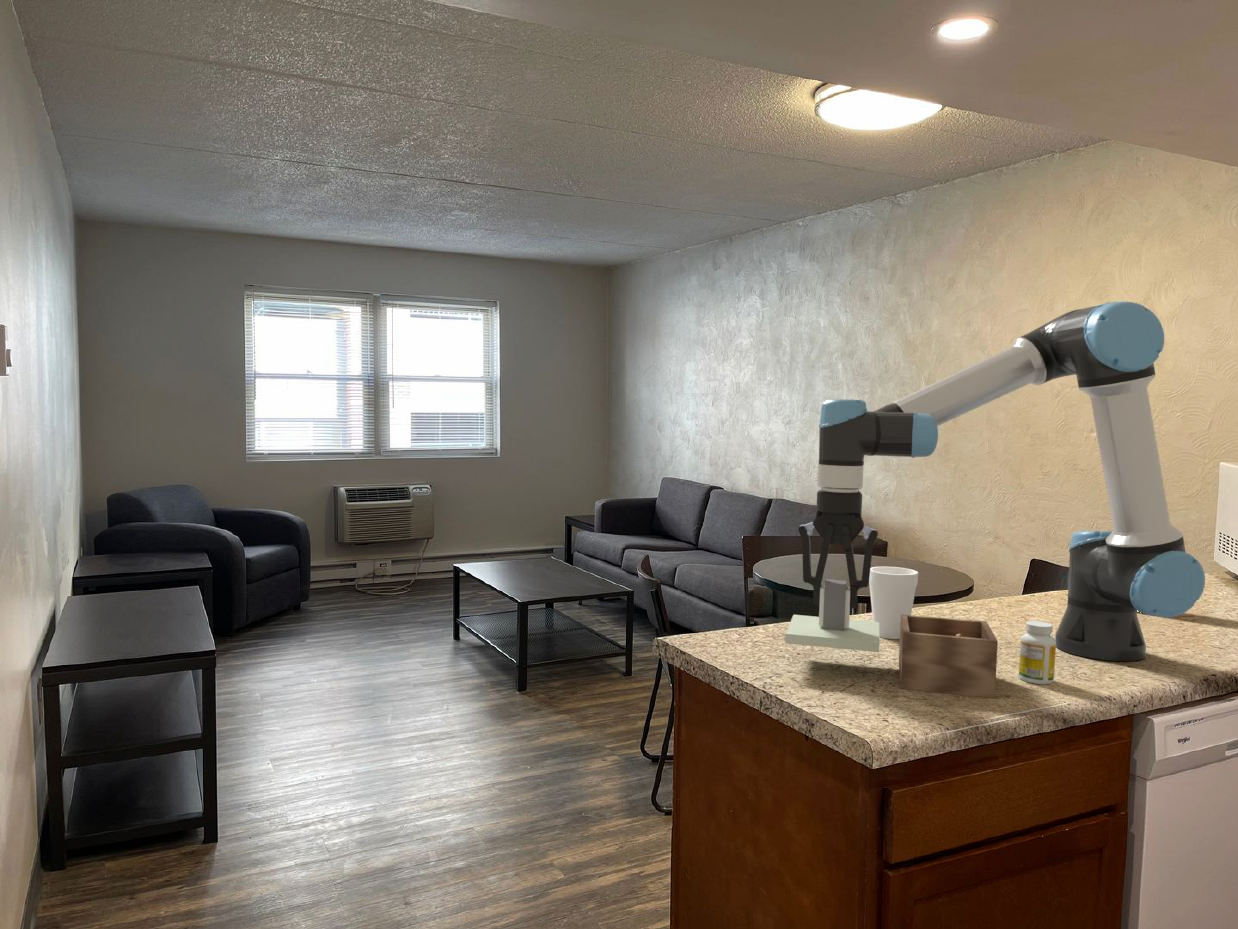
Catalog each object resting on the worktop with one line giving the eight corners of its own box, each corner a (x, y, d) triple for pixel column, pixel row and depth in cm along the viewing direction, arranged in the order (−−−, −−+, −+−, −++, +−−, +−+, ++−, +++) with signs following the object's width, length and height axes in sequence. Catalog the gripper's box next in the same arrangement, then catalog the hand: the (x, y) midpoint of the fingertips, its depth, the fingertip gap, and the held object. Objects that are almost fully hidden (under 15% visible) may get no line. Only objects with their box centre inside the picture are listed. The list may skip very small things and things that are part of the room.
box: (984, 673, 151) (986, 621, 151) (994, 698, 138) (997, 641, 137) (898, 665, 155) (900, 614, 154) (900, 688, 142) (903, 633, 141)
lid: (878, 631, 157) (881, 577, 156) (878, 652, 143) (881, 593, 142) (793, 623, 161) (795, 571, 161) (785, 643, 147) (787, 586, 146)
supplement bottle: (1029, 685, 145) (1032, 627, 144) (1012, 675, 150) (1015, 620, 150) (1060, 685, 145) (1063, 627, 145) (1042, 675, 151) (1045, 620, 150)
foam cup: (921, 634, 177) (924, 570, 176) (906, 643, 170) (909, 577, 169) (875, 627, 183) (878, 564, 182) (859, 635, 175) (861, 570, 175)
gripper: (890, 490, 152) (884, 625, 153) (792, 485, 156) (787, 616, 158) (890, 494, 145) (884, 635, 146) (788, 489, 149) (783, 625, 150)
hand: (833, 625), depth 152 cm, fingers closed on lid, 3 cm apart
